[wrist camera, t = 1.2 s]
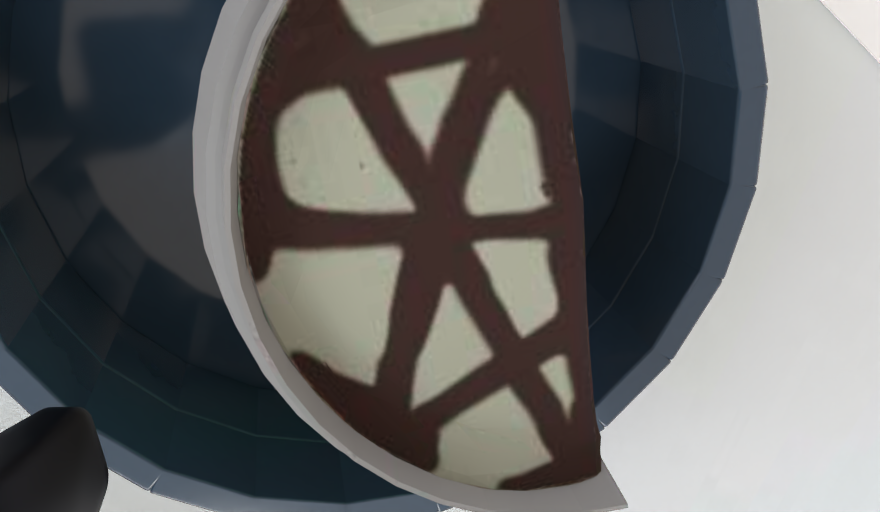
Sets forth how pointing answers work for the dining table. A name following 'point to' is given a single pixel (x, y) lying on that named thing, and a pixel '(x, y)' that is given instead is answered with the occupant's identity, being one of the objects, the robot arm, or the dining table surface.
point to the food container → (409, 238)
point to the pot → (193, 281)
